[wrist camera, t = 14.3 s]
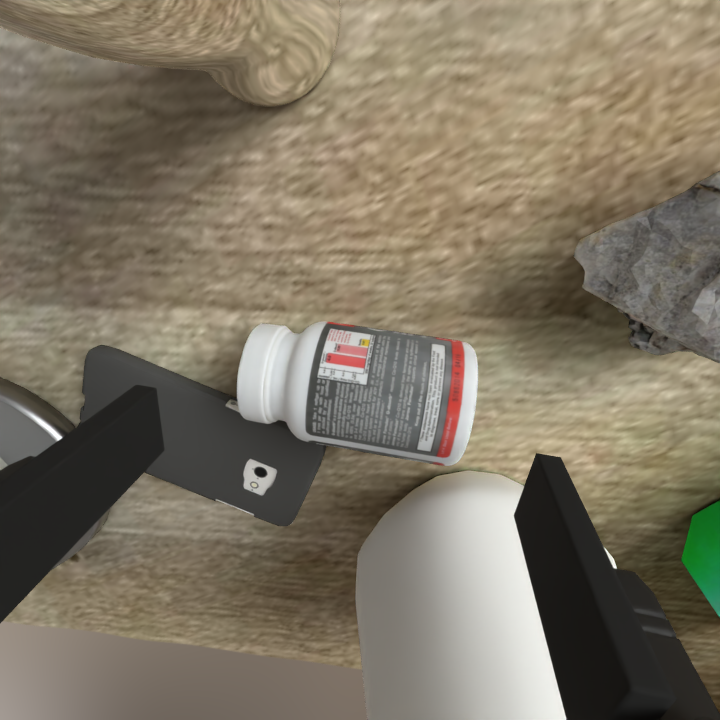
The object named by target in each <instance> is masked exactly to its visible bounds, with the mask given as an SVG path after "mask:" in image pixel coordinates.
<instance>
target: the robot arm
mask: <svg viewBox="0 0 720 720" xmlns="http://www.w3.org/2000/svg"><path fill="white" fill-rule="evenodd" d="M164 451H165V448H164V441H163V433H162V426H161V419H160V411H159V404H158V396H157V389H156V388H154V387H148V386H142V385H135V386H133V387H132V388H131V389H129V390H128V391H126V392H125V393H124V394H122V395H121V396H119V397H118V398H117V399H115V400H114V401H113V402H111V403H110V404H108V405H107V406H106V407H104V408H103V409H101V410H100V411H99V412H97V413H96V414H94V415H93V416H92V417H90V418H89V419H88V420H86V421H85V422H83V423H82V424H81V425H79V426H78V427H76V428H75V427H74V426H73V425H72V424H71V423H70V422H69V421H68V420H67V419H66V418H65V417H64V416H63V415H62V414H61V413H60V412H58V411H57V410H56V409H55V408H53V407H52V406H51V405H49V404H48V403H47V402H45V401H44V400H42V399H41V398H39V397H38V396H36V395H35V394H33V393H31V392H30V391H28V390H26V389H24V388H22V387H20V386H18V385H16V384H14V383H12V382H10V381H7V380H5V379H2V378H0V623H1V622H2V621H3V620H4V619H5V618H6V617H7V616H8V615H9V614H10V613H11V612H12V610H13V609H14V608H15V607H16V606H17V605H18V604H19V603H20V602H21V601H22V600H23V599H24V598H25V597H26V596H27V595H28V594H29V593H30V592H31V590H32V589H33V588H34V587H35V586H36V585H37V584H38V583H39V582H40V581H41V580H42V579H43V578H44V577H45V576H46V575H47V574H48V573H49V572H50V571H51V570H52V569H54V568H55V567H57V566H58V565H60V564H61V563H63V562H65V561H66V560H68V559H69V558H71V557H72V556H73V555H74V554H75V553H77V552H78V551H80V550H81V549H82V548H83V547H84V546H85V545H86V544H87V543H88V542H89V541H90V540H91V539H92V538H93V536H94V535H95V534H96V533H97V532H98V531H99V530H100V529H101V527H102V526H103V525H104V523H105V521H106V520H107V517H108V514H109V511H110V507H111V506H112V505H113V504H114V503H115V502H116V501H117V500H118V499H119V498H120V497H121V496H122V495H123V494H124V493H125V492H126V491H127V490H128V489H129V487H130V486H131V485H132V484H133V483H134V482H135V481H136V480H137V479H138V478H139V477H140V476H141V475H142V474H143V473H144V472H145V471H146V470H147V469H148V467H149V466H150V465H151V464H152V463H153V462H154V461H155V460H156V459H157V458H158V457H159V456H160V455H161V454H162V453H163V452H164ZM514 519H515V523H516V526H517V530H518V534H519V538H520V542H521V546H522V550H523V554H524V557H525V561H526V565H527V569H528V573H529V577H530V581H531V584H532V588H533V592H534V596H535V600H536V604H537V608H538V611H539V615H540V619H541V623H542V627H543V631H544V635H545V639H546V642H547V646H548V650H549V654H550V658H551V662H552V666H553V669H554V673H555V677H556V681H557V685H558V689H559V693H560V696H561V700H562V704H563V708H564V712H565V716H566V720H720V713H719V712H718V710H717V708H716V706H715V704H714V702H713V701H712V699H711V697H710V695H709V693H708V692H707V690H706V688H705V686H704V684H703V682H702V681H701V679H700V677H699V675H698V673H697V671H696V670H695V668H694V666H693V664H692V662H691V660H690V659H689V657H688V655H687V653H686V651H685V649H684V648H683V646H682V644H681V642H680V640H679V639H677V638H676V633H675V631H674V629H673V627H672V626H671V624H670V622H669V620H667V619H666V615H665V613H664V611H663V609H662V607H661V605H660V604H659V602H658V600H657V598H656V596H655V595H654V593H653V592H652V591H651V589H650V588H649V587H648V586H647V585H646V584H645V583H644V582H643V581H642V580H641V579H640V577H639V576H638V575H637V574H636V573H635V572H632V571H627V570H621V569H616V568H613V566H612V564H611V561H610V559H609V557H608V555H607V553H606V551H605V549H604V547H603V545H602V543H601V541H600V539H599V536H598V534H597V532H596V530H595V528H594V526H593V524H592V522H591V520H590V518H589V516H588V513H587V511H586V509H585V507H584V505H583V503H582V501H581V499H580V497H579V495H578V493H577V491H576V488H575V486H574V484H573V482H572V480H571V478H570V476H569V474H568V472H567V470H566V468H565V465H564V463H563V461H562V459H561V457H555V456H549V455H543V454H537V453H536V456H535V458H534V461H533V464H532V467H531V469H530V472H529V475H528V478H527V480H526V483H525V486H524V489H523V491H522V494H521V497H520V500H519V502H518V505H517V508H516V510H515V513H514Z"/></svg>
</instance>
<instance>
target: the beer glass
mask: <svg viewBox="0 0 720 720" xmlns="http://www.w3.org/2000/svg"><path fill="white" fill-rule="evenodd" d="M0 28H2V29H5V30H7V31H10V32H12V33H15V34H18V35H21V36H24V37H27V38H30V39H33V40H36V41H40V42H43V43H46V44H49V45H53V46H56V47H59V48H62V49H66V50H69V51H72V52H75V53H79V54H82V55H85V56H89V57H93V58H99V59H105V60H111V61H116V62H122V63H128V64H134V65H140V66H149V67H161V68H174V69H193V70H204V71H207V72H208V73H209V74H210V75H211V76H212V77H213V78H214V80H215V81H216V82H217V83H218V84H219V85H220V86H222V87H223V88H224V89H225V90H226V91H228V92H229V93H230V94H232V95H233V96H235V97H237V98H239V99H241V100H243V101H245V102H247V103H250V104H253V105H258V106H266V107H272V106H280V105H284V104H288V103H290V102H293V101H295V100H297V99H299V98H301V97H302V96H304V95H305V94H306V93H308V92H309V91H310V90H311V89H312V88H313V87H314V86H315V85H316V84H317V83H318V81H319V80H320V79H321V78H322V76H323V75H324V73H325V71H326V70H327V68H328V66H329V64H330V62H331V60H332V57H333V54H334V52H335V48H336V45H337V41H338V36H339V29H340V0H0Z"/></svg>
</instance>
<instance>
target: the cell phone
mask: <svg viewBox="0 0 720 720" xmlns="http://www.w3.org/2000/svg"><path fill="white" fill-rule="evenodd" d="M135 385H142V386H148V387H154V388H156V389H157V396H158V404H159V411H160V419H161V426H162V433H163V441H164V448H165V451H164V452H163V453H162V454H161V455H160V456H159V457H158V458H157V459H156V460H155V461H154V462H153V463H152V464H151V465H150V466H149V467H148V469H147V470H146V471H145V473H148V474H150V475H152V476H155V477H157V478H160V479H162V480H165V481H167V482H170V483H172V484H175V485H177V486H180V487H182V488H184V489H187V490H189V491H192V492H194V493H197V494H199V495H202V496H204V497H207V498H209V499H212V500H214V501H215V500H217V501H220V502H222V503H225V504H227V505H230V506H232V507H234V508H237V509H239V510H242V511H244V512H247V513H249V514H252V515H254V517H256V518H259V519H262V520H264V521H267V522H270V523H272V524H275V525H277V526H288V525H290V524H291V523H292V522H293V521H294V519H295V517H296V516H297V514H298V512H299V509H300V507H301V505H302V503H303V501H304V499H305V496H306V494H307V492H308V490H309V488H310V486H311V484H312V481H313V479H314V477H315V475H316V473H317V471H318V469H319V466H320V464H321V462H322V460H323V457H324V454H325V450H326V445H320V444H314V443H310V442H306V441H303V440H300V439H298V438H297V437H296V436H295V435H294V434H293V433H292V432H291V431H290V429H289V427H288V425H287V423H286V422H285V421H281V420H277V421H276V422H272V423H271V424H265V423H260V422H254V421H249V420H246V419H244V418H243V417H242V415H241V414H240V411H239V408H238V402H237V399H236V398H234V397H231V396H229V395H227V394H224V393H222V392H219V391H217V390H215V389H212V388H210V387H207V386H205V385H203V384H200V383H198V382H195V381H193V380H191V379H188V378H186V377H183V376H181V375H179V374H176V373H174V372H171V371H169V370H167V369H164V368H162V367H159V366H157V365H155V364H152V363H150V362H147V361H145V360H143V359H140V358H138V357H136V356H133V355H131V354H128V353H126V352H124V351H121V350H119V349H116V348H112V347H109V346H104V345H100V346H97V347H95V348H93V349H91V350H90V351H89V352H88V354H87V356H86V360H85V366H84V377H83V388H82V393H83V394H85V404H84V406H83V407H81V411H80V420H81V423H80V424H79V425H81V424H82V423H83V422H85V421H86V420H88V419H89V418H90V417H92V416H93V415H94V414H96V413H97V412H99V411H100V410H101V409H103V408H104V407H106V406H107V405H108V404H110V403H111V402H113V401H114V400H115V399H117V398H118V397H119V396H121V395H122V394H124V393H125V392H126V391H128V390H129V389H131V388H132V387H133V386H135ZM234 400H235V401H234Z"/></svg>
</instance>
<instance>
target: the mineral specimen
mask: <svg viewBox="0 0 720 720" xmlns="http://www.w3.org/2000/svg"><path fill="white" fill-rule="evenodd" d="M574 257H575V259H576V260H577V261H578V262H579V263H580V264H581V265H582V267H583V268H584V270H585V277H584V284H583V286H582V288H583V289H585V290H586V291H588V292H590V293H592V294H593V295H595V296H597V297H599V298H601V299H603V300H605V301H606V302H608V303H610V304H612V305H614V306H616V307H617V309H618V312H623V315H625V316H626V317H627V318H628V319H629V326H628V327H629V328H630V329H632V332H631V334H630V336H629V337H628V339H629V342H630V344H631V345H632V346H633V347H635V348H637V349H641V350H644V351H646V352H649V353H651V354H655V355H664V354H668V353H673V352H675V351H688V352H694V353H695V354H697V355H700V356H703V357H706V358H708V359H711V360H713V361H715V362H718V363H720V171H718V172H717V173H715V174H713V175H711V176H710V177H708V178H706V179H704V180H702V181H700V182H698V183H696V184H695V185H694V186H692V187H691V188H690V189H688V190H687V191H685V192H683V193H681V194H679V195H677V196H675V197H673V198H671V199H669V200H667V201H665V202H663V203H661V204H659V205H657V206H655V207H653V208H650V209H647V210H645V211H642V212H639V213H636V214H633V215H631V216H629V217H627V218H625V219H623V220H620V221H617V222H614V223H612V224H609V225H607V226H605V227H603V228H602V229H600V230H598V231H596V232H593V233H592V234H590V235H588V236H586V237H584V238H582V239H580V240H579V242H578V245H577V247H576V249H575V253H574Z"/></svg>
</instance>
